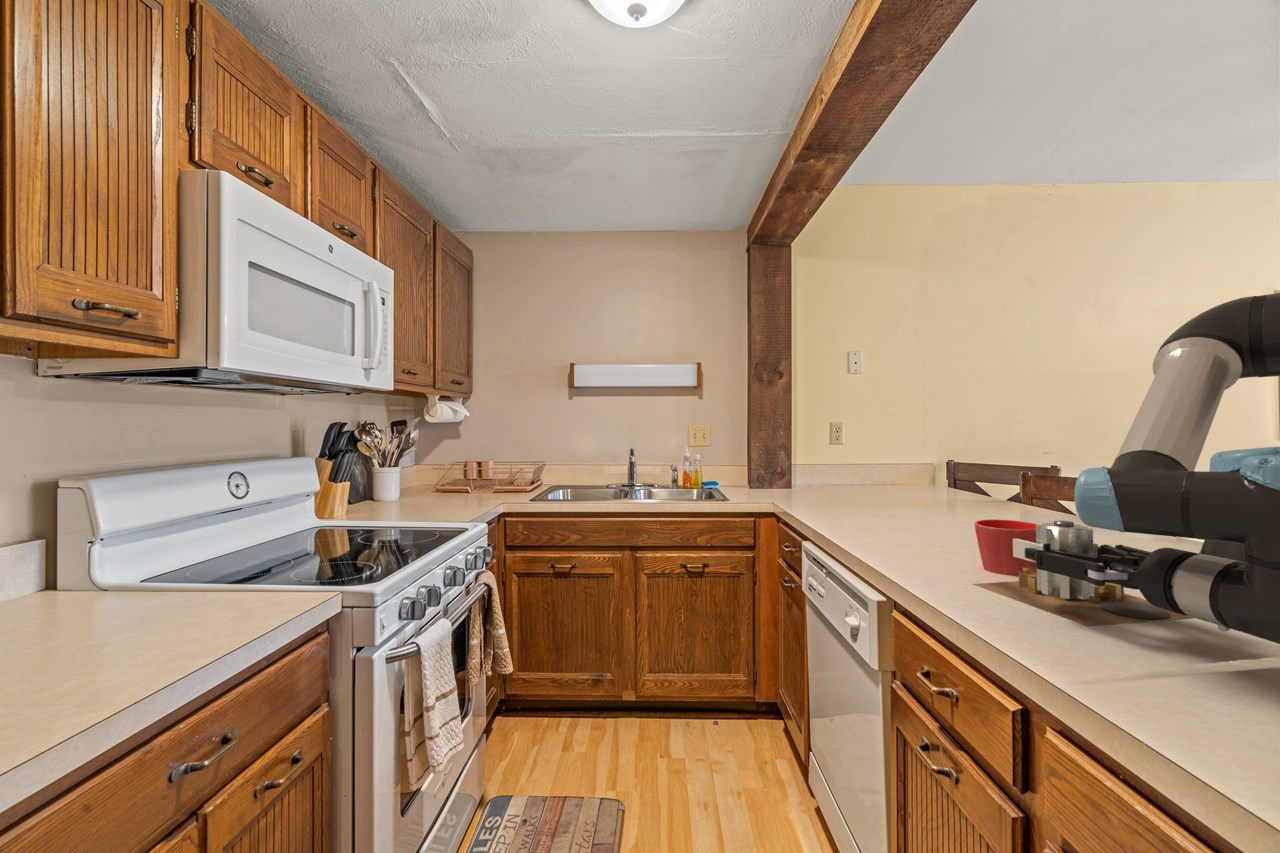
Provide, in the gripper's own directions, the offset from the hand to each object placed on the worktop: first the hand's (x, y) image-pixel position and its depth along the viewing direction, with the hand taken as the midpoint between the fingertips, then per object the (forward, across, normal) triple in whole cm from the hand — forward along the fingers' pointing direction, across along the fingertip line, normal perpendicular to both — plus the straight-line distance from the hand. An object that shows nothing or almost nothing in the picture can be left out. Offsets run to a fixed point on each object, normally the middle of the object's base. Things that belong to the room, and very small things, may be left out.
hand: (1036, 546), depth 93 cm
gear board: (-1, +6, -9) cm, 11 cm away
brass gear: (+3, +8, -8) cm, 12 cm away
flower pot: (+17, +9, -10) cm, 22 cm away
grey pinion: (-5, 0, -6) cm, 8 cm away
